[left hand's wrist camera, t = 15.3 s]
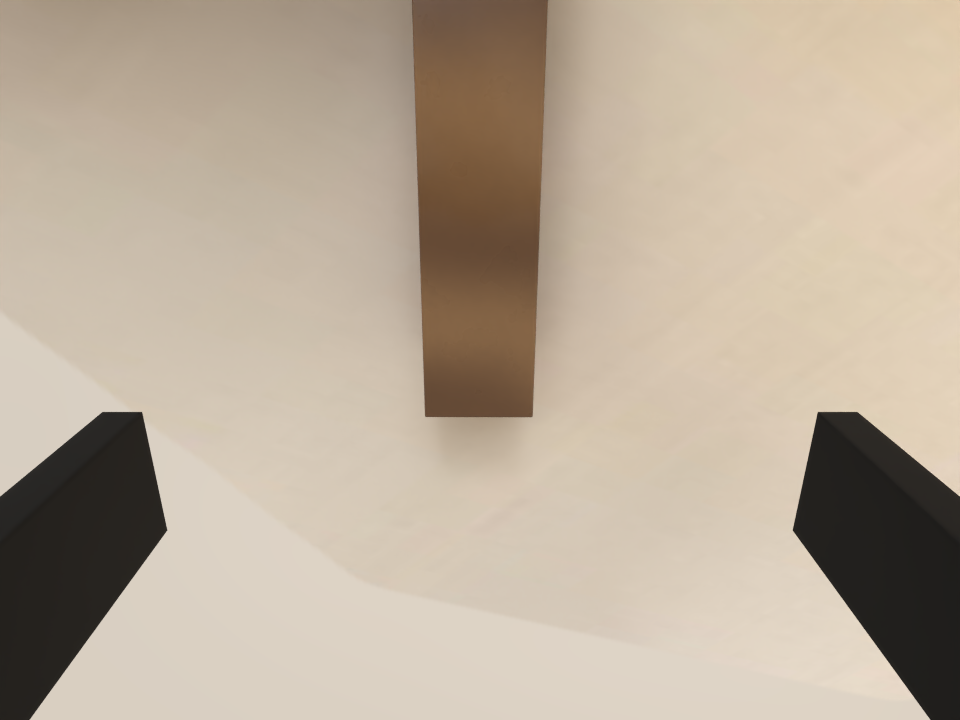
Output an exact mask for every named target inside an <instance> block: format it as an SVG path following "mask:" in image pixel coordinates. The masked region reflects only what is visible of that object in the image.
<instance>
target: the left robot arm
mask: <svg viewBox="0 0 960 720" xmlns="http://www.w3.org/2000/svg"><path fill="white" fill-rule="evenodd" d="M166 531H167V527H166V522H165V518H164V513H163V508H162V504H161V499H160V494H159V490H158V485H157V480H156V475H155V471H154V466H153V461H152V457H151V452H150V447H149V443H148V438H147V433H146V428H145V424H144V419H143V414H142V412H102V413H101V414H100V415H99V416H97V417H96V418H95V419H94V420H92V421H91V422H90V423H89V424H88V425H86V426H85V427H84V428H83V429H82V430H80V431H79V432H78V433H77V434H76V435H74V436H73V437H72V438H71V439H69V440H68V441H67V442H66V443H65V444H63V445H62V446H61V447H60V448H59V449H57V450H56V451H55V452H54V453H53V454H51V455H50V456H49V457H48V458H47V459H45V460H44V461H43V462H42V463H40V464H39V465H38V466H37V467H36V468H34V469H33V470H32V471H31V472H30V473H28V474H27V475H26V476H25V477H23V478H22V479H21V480H20V481H19V482H18V483H16V484H15V485H14V486H13V487H11V488H10V489H9V490H8V491H7V492H5V493H4V494H3V495H2V496H0V720H30V718H31V717H32V716H33V714H34V713H35V711H36V710H37V709H38V707H39V706H40V705H41V703H42V702H43V700H44V699H45V698H46V696H47V695H48V694H49V692H50V691H51V689H52V688H53V687H54V685H55V684H56V683H57V681H58V680H59V678H60V677H61V676H62V674H63V673H64V672H65V670H66V669H67V667H68V666H69V665H70V663H71V662H72V661H73V659H74V658H75V656H76V655H77V654H78V652H79V651H80V650H81V648H82V647H83V645H84V644H85V643H86V641H87V640H88V639H89V637H90V636H91V634H92V633H93V632H94V630H95V629H96V628H97V626H98V625H99V623H100V622H101V621H102V619H103V618H104V617H105V615H106V614H107V612H108V611H109V610H110V608H111V607H112V606H113V604H114V603H115V601H116V600H117V599H118V597H119V596H120V595H121V593H122V592H123V590H124V589H125V588H126V586H127V585H128V584H129V582H130V581H131V579H132V578H133V577H134V575H135V574H136V573H137V571H138V570H139V568H140V567H141V566H142V564H143V563H144V562H145V560H146V559H147V557H148V556H149V555H150V553H151V552H152V551H153V549H154V548H155V546H156V545H157V544H158V542H159V541H160V540H161V538H162V537H163V535H164V534H165V533H166ZM793 531H794V533H795V534H796V535H797V537H798V538H799V540H800V541H801V542H802V544H803V545H804V546H805V548H806V549H807V551H808V552H809V553H810V555H811V556H812V557H813V559H814V560H815V562H816V563H817V564H818V566H819V567H820V568H821V570H822V571H823V573H824V574H825V575H826V577H827V578H828V579H829V581H830V582H831V584H832V585H833V586H834V588H835V589H836V590H837V592H838V593H839V595H840V596H841V597H842V599H843V600H844V601H845V603H846V604H847V606H848V607H849V608H850V610H851V611H852V612H853V614H854V615H855V617H856V618H857V619H858V621H859V622H860V623H861V625H862V626H863V628H864V629H865V630H866V632H867V633H868V634H869V636H870V637H871V639H872V640H873V641H874V643H875V644H876V645H877V647H878V648H879V650H880V651H881V652H882V654H883V655H884V656H885V658H886V659H887V661H888V662H889V663H890V665H891V666H892V667H893V669H894V670H895V672H896V673H897V674H898V676H899V677H900V678H901V680H902V681H903V683H904V684H905V685H906V687H907V688H908V689H909V691H910V692H911V694H912V695H913V696H914V698H915V699H916V700H917V702H918V703H919V705H920V706H921V707H922V709H923V710H924V711H925V713H926V714H927V716H928V717H929V718H930V720H960V496H958V495H957V494H956V493H955V492H953V491H952V490H951V489H950V488H949V487H947V486H946V485H945V484H944V483H943V482H941V481H940V480H939V479H938V478H937V477H935V476H934V475H933V474H932V473H930V472H929V471H928V470H927V469H926V468H924V467H923V466H922V465H921V464H920V463H918V462H917V461H916V460H915V459H914V458H912V457H911V456H910V455H909V454H907V453H906V452H905V451H904V450H903V449H901V448H900V447H899V446H898V445H897V444H895V443H894V442H893V441H892V440H891V439H889V438H888V437H887V436H886V435H884V434H883V433H882V432H881V431H880V430H878V429H877V428H876V427H875V426H874V425H872V424H871V423H870V422H869V421H868V420H866V419H865V418H864V417H863V416H861V415H860V414H859V413H858V412H818V414H817V419H816V424H815V428H814V433H813V438H812V442H811V447H810V452H809V457H808V461H807V466H806V471H805V475H804V480H803V485H802V489H801V494H800V499H799V504H798V508H797V513H796V518H795V522H794V527H793Z"/></svg>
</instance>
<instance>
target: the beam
mask: <svg viewBox="0 0 960 720" xmlns="http://www.w3.org/2000/svg"><path fill="white" fill-rule="evenodd" d="M547 6H548V0H412V15H413V47H414V78H415V110H416V142H417V174H418V205H419V237H420V269H421V301H422V333H423V364H424V396H425V416H426V417H532V416H533V391H534V364H535V336H536V309H537V281H538V253H539V226H540V198H541V171H542V143H543V116H544V88H545V61H546V33H547Z"/></svg>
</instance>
